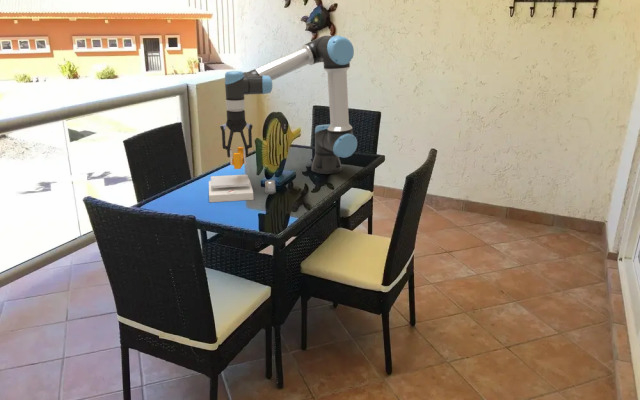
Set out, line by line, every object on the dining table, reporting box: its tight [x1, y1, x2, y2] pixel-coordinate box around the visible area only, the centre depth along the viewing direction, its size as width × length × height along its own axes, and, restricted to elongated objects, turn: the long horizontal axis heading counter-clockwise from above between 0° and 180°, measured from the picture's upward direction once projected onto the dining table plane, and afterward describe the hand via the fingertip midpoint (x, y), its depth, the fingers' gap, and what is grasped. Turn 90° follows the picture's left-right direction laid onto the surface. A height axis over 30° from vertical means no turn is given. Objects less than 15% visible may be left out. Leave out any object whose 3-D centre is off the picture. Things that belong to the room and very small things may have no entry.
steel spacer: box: [264, 179, 276, 195], centre depth 214 cm, size 4×4×5 cm
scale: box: [208, 174, 254, 203], centre depth 213 cm, size 18×20×6 cm
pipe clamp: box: [231, 146, 245, 170], centre depth 210 cm, size 12×4×6 cm, turn 179°
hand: (238, 164), depth 212 cm, fingers closed on pipe clamp, 5 cm apart
